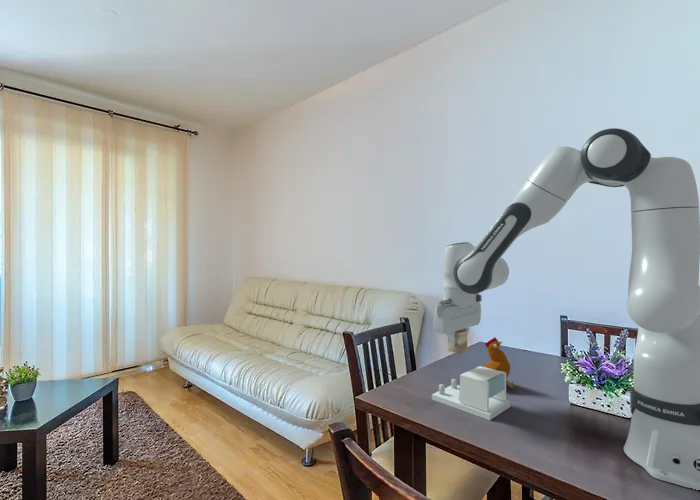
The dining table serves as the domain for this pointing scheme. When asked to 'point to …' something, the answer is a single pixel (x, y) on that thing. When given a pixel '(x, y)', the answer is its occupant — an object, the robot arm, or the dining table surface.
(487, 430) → the dining table surface
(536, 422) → the dining table surface
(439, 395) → the white peg base plate
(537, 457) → the dining table surface
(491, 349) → the toy
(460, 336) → the block
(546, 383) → the dining table surface
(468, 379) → the cover
